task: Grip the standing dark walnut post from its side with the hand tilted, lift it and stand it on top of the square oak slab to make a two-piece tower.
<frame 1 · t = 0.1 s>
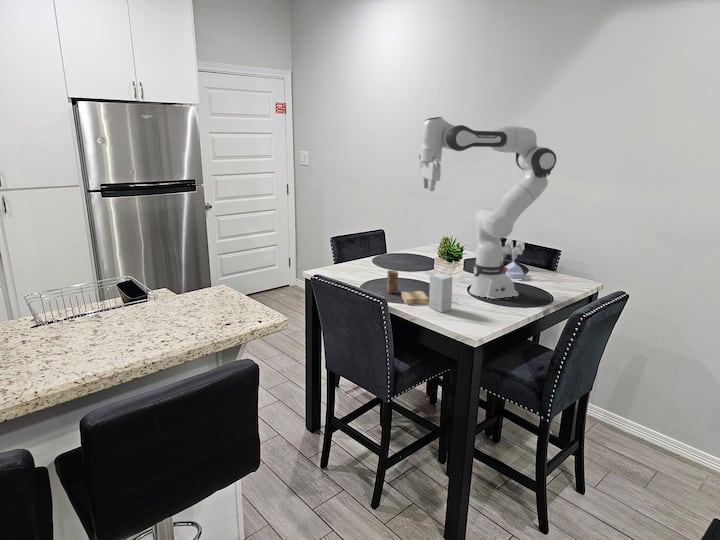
hand: (428, 189, 209), 48 cm above the table, tool pointing down, fingers open, 8 cm apart
oak slab: (414, 301, 214), on the table
skincare box: (439, 309, 205), on the table
walnut post: (391, 292, 223), on the table
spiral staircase: (497, 265, 276), on the table
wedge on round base: (513, 277, 254), on the table
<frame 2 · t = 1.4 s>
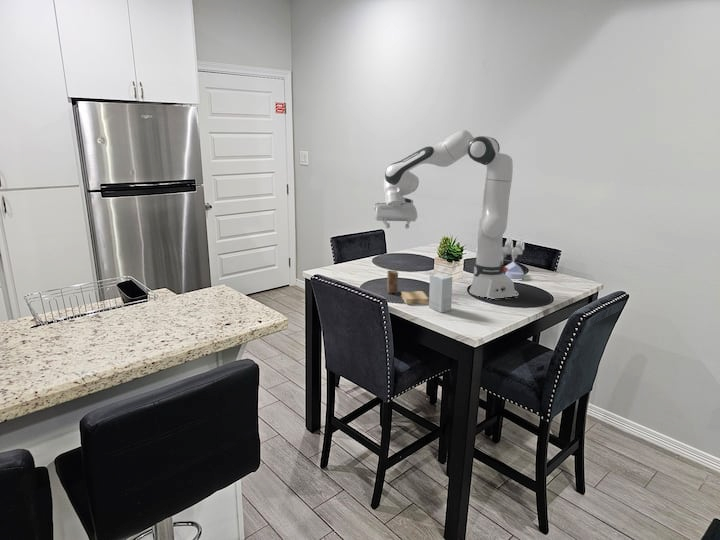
hand: (397, 227, 227), 28 cm above the table, tool tilted 45°, fingers open, 8 cm apart
nothing on the table moved.
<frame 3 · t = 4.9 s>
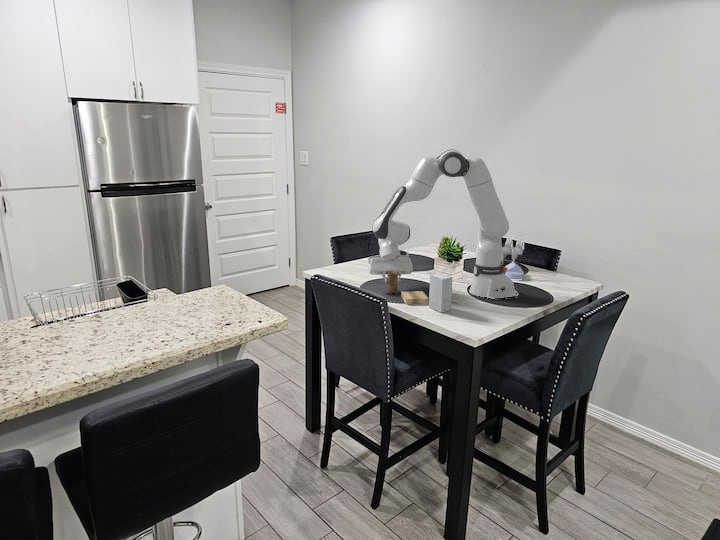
hand: (392, 281, 221), 5 cm above the table, tool tilted 45°, fingers closed on walnut post, 4 cm apart
walnut post: (391, 292, 223), on the table, touching gripper
everything else where it was.
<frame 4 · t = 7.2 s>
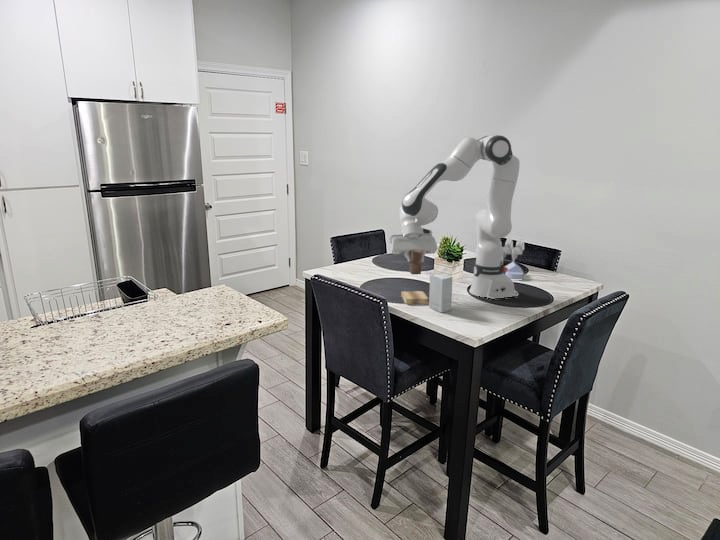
hand: (416, 261, 209), 18 cm above the table, tool tilted 45°, fingers closed on walnut post, 4 cm apart
walnut post: (415, 273, 211), point 12 cm above the table, touching gripper
everything else where it was.
when the fingers open (10 cm above the table, at t = 9.3 s): walnut post drops 2 cm, resting on oak slab.
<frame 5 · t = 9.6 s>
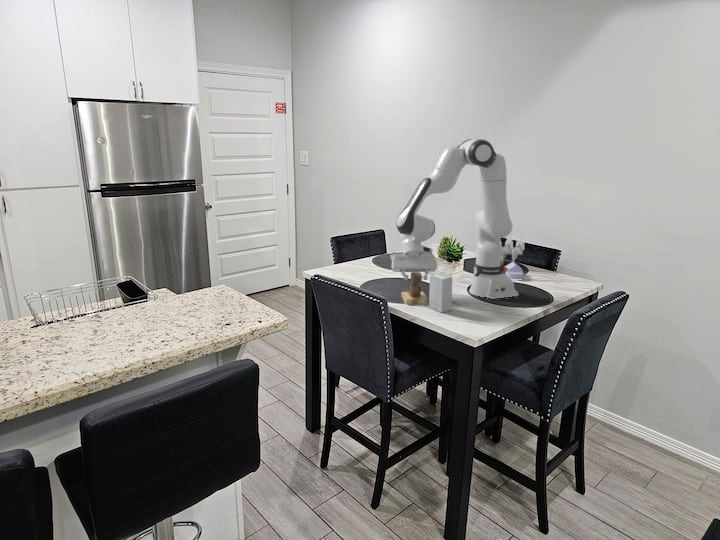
hand: (416, 279, 211), 10 cm above the table, tool tilted 45°, fingers open, 7 cm apart
oak slab: (414, 301, 214), on the table, touching walnut post
walnut post: (414, 295, 213), point 2 cm above the table, touching oak slab
everything else where it was.
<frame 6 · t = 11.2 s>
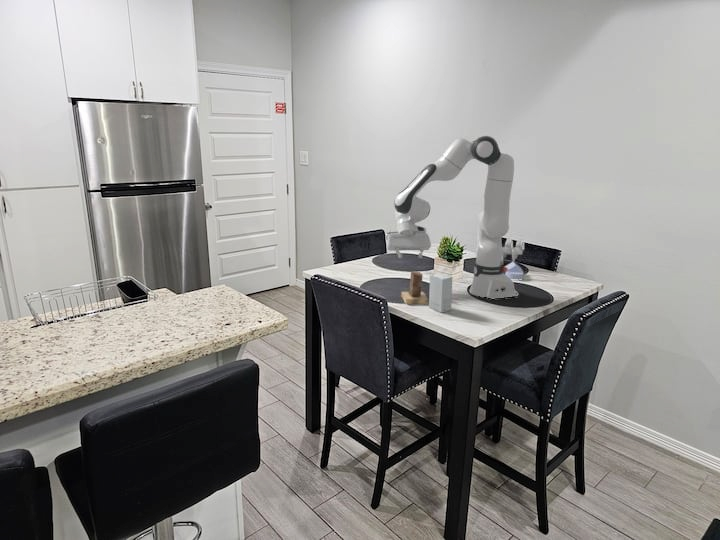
hand: (410, 257, 220), 17 cm above the table, tool tilted 45°, fingers open, 8 cm apart
nothing on the table moved.
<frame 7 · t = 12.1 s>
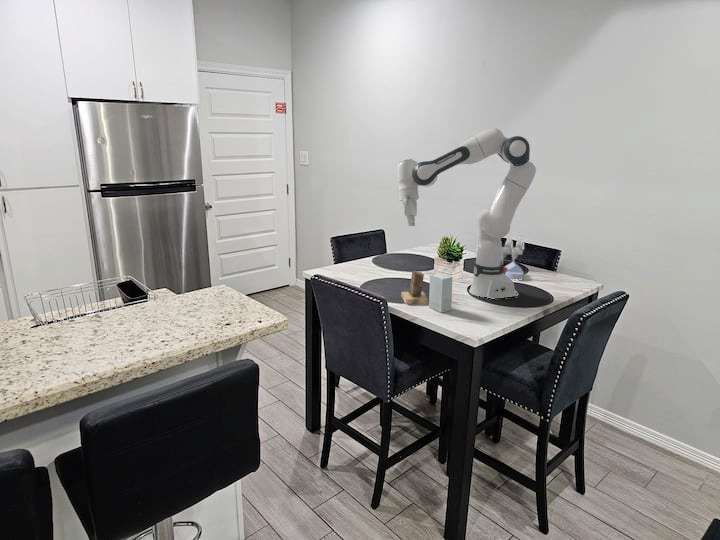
hand: (411, 226, 222), 30 cm above the table, tool pointing down, fingers open, 8 cm apart
nothing on the table moved.
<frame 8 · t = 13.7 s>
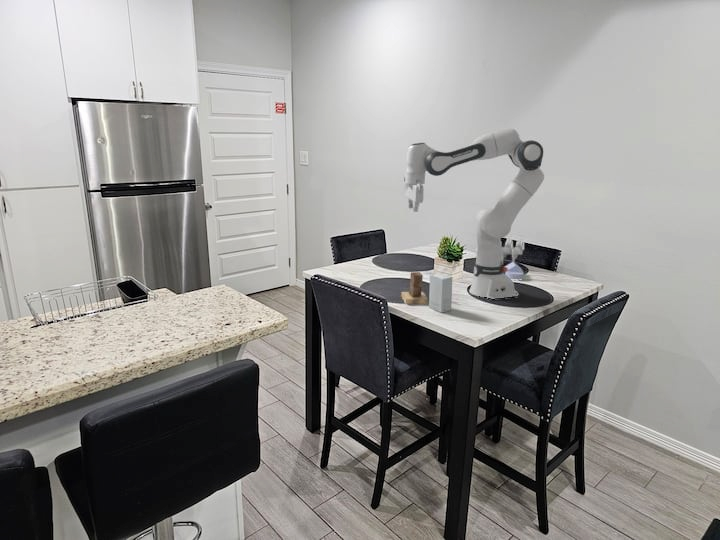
hand: (413, 209, 223), 37 cm above the table, tool pointing down, fingers open, 8 cm apart
at the end: walnut post inside the target area on the oak slab (0.3 cm from its centre), point 3.1 cm above the oak slab's base; walnut post tilted 4°; the gripper is holding nothing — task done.
